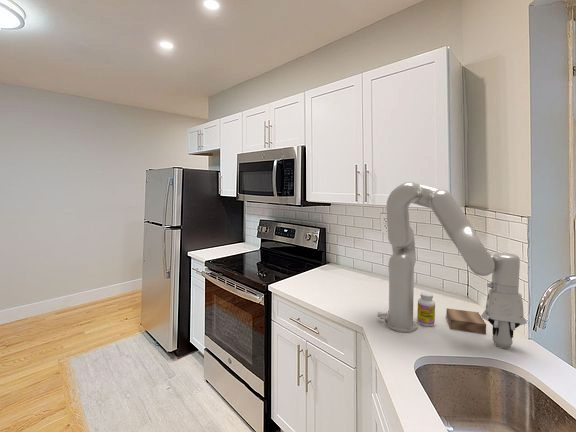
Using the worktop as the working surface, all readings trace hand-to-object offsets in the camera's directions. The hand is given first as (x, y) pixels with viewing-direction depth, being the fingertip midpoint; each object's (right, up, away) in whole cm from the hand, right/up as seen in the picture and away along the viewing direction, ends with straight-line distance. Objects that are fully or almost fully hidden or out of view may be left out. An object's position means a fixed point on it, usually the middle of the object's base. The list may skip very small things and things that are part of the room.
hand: (502, 337), depth 100 cm
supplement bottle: (-18, -2, +19) cm, 26 cm away
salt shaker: (0, -3, 0) cm, 3 cm away
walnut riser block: (-3, -2, +17) cm, 17 cm away
